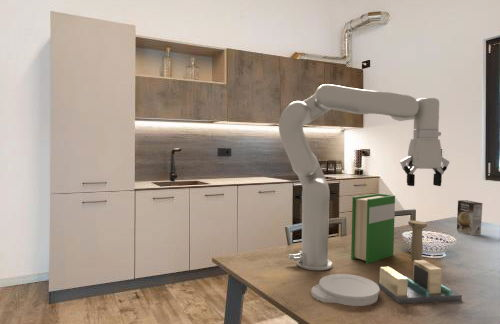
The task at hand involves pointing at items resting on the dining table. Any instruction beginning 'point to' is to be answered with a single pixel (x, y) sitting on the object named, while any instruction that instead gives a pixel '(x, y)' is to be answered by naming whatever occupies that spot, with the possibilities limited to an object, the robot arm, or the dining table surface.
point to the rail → (411, 289)
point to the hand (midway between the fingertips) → (423, 185)
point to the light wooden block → (427, 276)
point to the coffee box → (469, 217)
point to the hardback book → (373, 227)
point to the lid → (346, 290)
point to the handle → (416, 239)
